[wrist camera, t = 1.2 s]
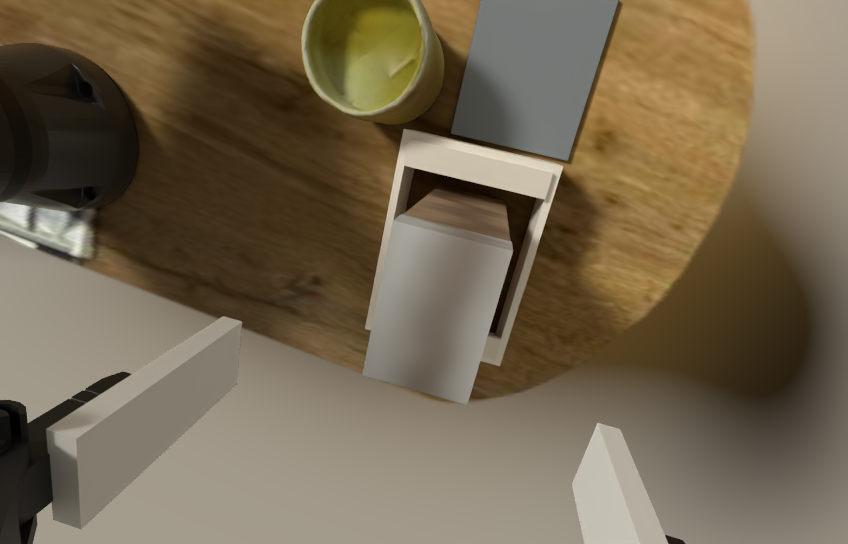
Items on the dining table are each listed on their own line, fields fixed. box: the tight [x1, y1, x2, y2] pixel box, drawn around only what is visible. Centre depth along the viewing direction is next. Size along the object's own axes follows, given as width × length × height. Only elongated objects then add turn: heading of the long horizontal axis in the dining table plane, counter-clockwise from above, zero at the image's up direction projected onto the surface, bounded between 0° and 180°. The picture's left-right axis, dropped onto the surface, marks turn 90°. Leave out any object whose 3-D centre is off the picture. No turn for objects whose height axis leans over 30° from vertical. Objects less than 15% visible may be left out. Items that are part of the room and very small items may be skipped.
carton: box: [365, 129, 563, 366], centre depth 37 cm, size 12×17×5 cm
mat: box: [451, 0, 619, 161], centre depth 34 cm, size 10×12×1 cm
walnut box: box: [362, 185, 513, 405], centre depth 31 cm, size 6×9×18 cm
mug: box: [301, 0, 445, 125], centre depth 32 cm, size 12×10×10 cm
